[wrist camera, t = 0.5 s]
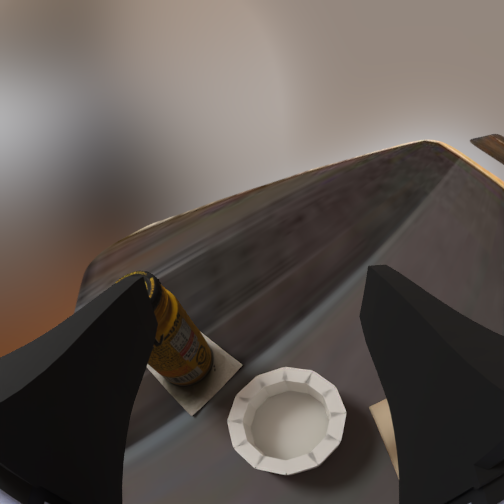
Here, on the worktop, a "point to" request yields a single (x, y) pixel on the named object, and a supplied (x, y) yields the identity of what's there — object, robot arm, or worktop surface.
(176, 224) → the worktop surface
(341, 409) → the bowl
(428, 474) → the robot arm
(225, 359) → the condiment
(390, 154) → the worktop surface
